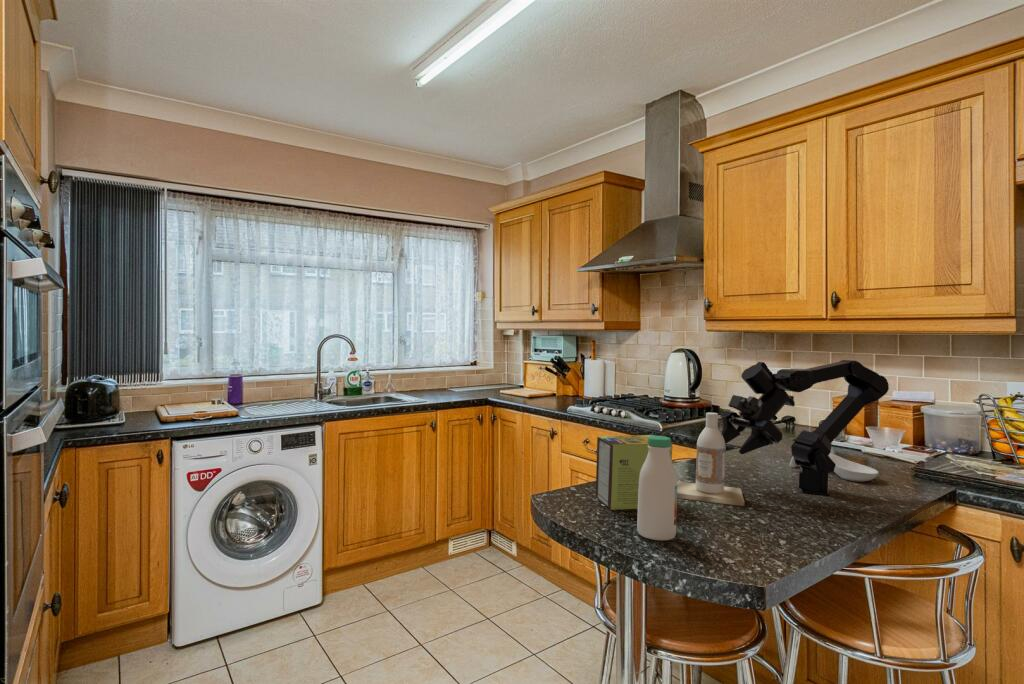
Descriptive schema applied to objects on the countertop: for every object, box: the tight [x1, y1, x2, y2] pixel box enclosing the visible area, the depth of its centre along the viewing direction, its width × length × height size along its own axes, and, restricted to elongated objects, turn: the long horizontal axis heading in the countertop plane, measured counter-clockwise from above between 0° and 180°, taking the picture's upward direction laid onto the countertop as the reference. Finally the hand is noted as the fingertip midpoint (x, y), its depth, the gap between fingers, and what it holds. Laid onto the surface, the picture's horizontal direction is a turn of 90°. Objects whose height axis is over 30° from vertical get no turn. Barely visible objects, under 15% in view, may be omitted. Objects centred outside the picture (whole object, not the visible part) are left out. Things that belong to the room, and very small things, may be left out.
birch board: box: [677, 480, 746, 507], centre depth 140 cm, size 16×12×1 cm
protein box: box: [595, 434, 673, 511], centre depth 132 cm, size 10×15×16 cm
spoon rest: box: [789, 452, 880, 483], centre depth 166 cm, size 24×12×7 cm, turn 41°
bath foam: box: [695, 412, 726, 494], centre depth 140 cm, size 7×7×20 cm
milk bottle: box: [636, 435, 678, 542], centre depth 111 cm, size 8×8×20 cm
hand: (729, 449), depth 141 cm, fingers open, 9 cm apart
